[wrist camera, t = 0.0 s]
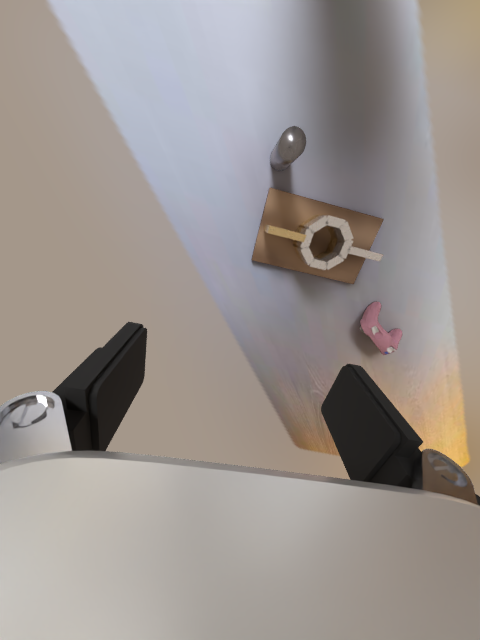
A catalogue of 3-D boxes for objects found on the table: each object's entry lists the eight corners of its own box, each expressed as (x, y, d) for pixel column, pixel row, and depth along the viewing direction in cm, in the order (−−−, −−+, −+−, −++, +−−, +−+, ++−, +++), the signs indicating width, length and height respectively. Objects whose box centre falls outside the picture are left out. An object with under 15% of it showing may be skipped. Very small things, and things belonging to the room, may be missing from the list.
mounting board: (269, 188, 34) (270, 187, 33) (380, 219, 36) (383, 219, 35) (251, 259, 39) (251, 260, 38) (350, 282, 41) (353, 284, 40)
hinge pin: (273, 143, 32) (284, 122, 25) (293, 149, 32) (309, 130, 25) (267, 167, 33) (276, 154, 26) (286, 173, 33) (300, 162, 26)
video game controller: (354, 307, 45) (355, 332, 40) (378, 297, 42) (382, 323, 37) (378, 337, 48) (383, 363, 43) (402, 329, 45) (409, 357, 40)
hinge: (270, 202, 34) (276, 201, 30) (374, 230, 36) (394, 233, 32) (258, 249, 37) (261, 254, 33) (354, 273, 39) (370, 281, 35)
